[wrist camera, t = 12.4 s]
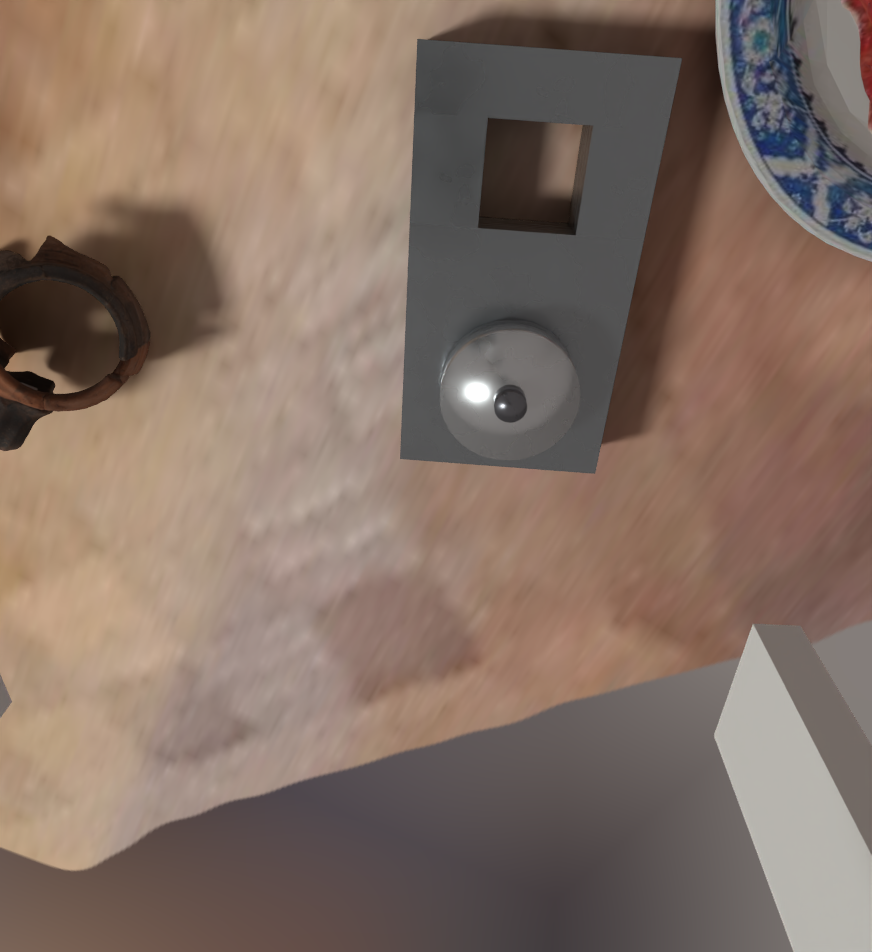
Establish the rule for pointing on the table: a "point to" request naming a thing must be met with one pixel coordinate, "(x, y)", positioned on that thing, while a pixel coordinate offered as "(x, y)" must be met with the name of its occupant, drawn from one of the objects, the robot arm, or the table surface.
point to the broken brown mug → (31, 397)
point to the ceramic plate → (804, 108)
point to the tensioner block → (524, 254)
